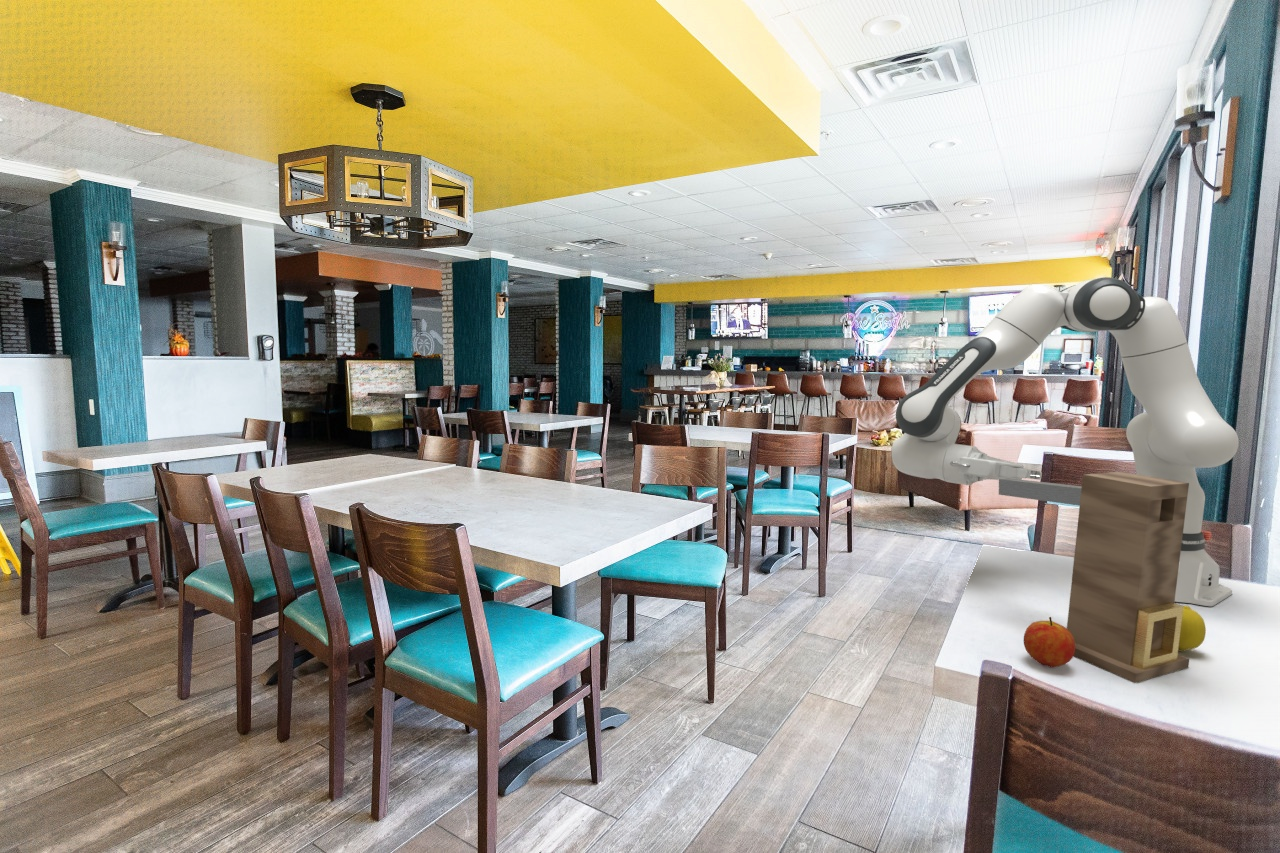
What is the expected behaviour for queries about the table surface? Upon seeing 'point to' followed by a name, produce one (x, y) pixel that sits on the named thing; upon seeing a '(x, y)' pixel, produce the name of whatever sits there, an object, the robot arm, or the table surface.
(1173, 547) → the block
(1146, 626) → the frame
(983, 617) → the table surface
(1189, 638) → the lemon
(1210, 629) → the table surface
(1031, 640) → the fruit
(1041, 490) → the shaft
